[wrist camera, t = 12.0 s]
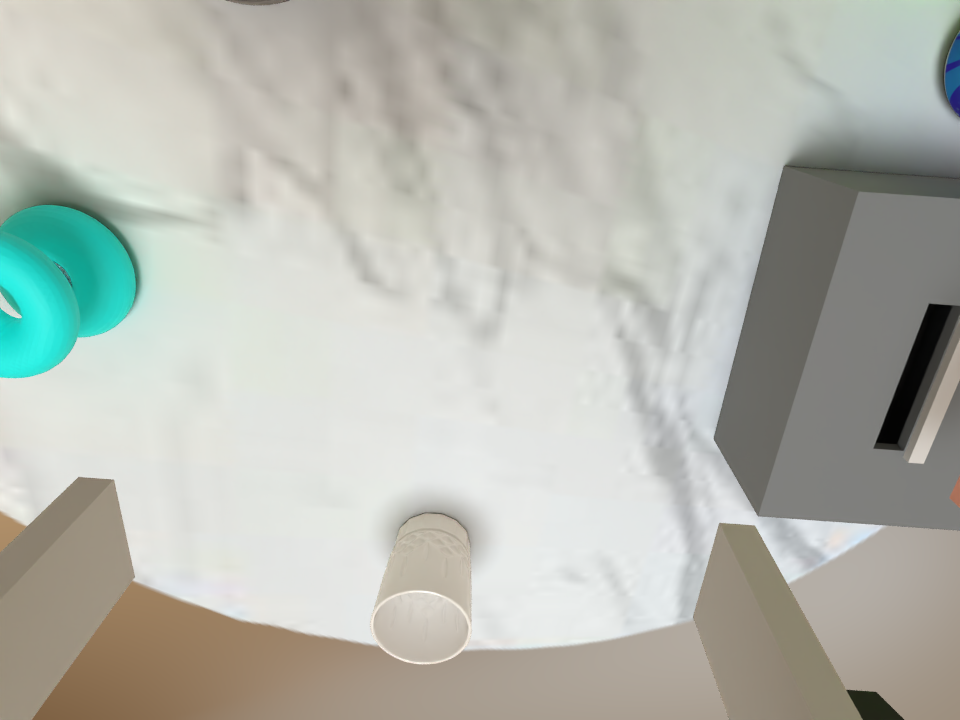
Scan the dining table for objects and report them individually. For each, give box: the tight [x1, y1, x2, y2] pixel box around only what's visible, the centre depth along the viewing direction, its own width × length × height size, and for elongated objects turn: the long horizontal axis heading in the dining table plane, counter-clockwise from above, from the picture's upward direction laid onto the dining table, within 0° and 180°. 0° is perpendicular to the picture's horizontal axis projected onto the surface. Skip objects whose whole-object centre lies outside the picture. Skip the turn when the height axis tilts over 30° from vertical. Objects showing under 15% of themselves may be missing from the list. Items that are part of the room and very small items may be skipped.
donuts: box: [0, 205, 136, 378], centre depth 44 cm, size 10×10×10 cm
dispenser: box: [714, 166, 960, 531], centre depth 43 cm, size 22×14×11 cm, turn 176°
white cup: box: [370, 513, 472, 664], centre depth 54 cm, size 8×8×10 cm
